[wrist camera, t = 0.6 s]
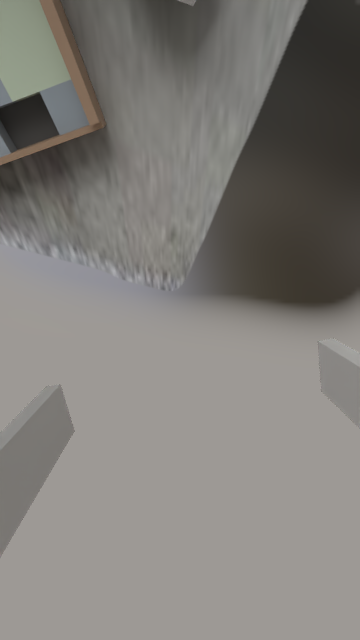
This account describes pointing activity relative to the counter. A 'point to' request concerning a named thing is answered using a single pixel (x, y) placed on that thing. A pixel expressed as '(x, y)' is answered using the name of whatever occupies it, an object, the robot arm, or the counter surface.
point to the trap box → (41, 80)
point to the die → (188, 2)
